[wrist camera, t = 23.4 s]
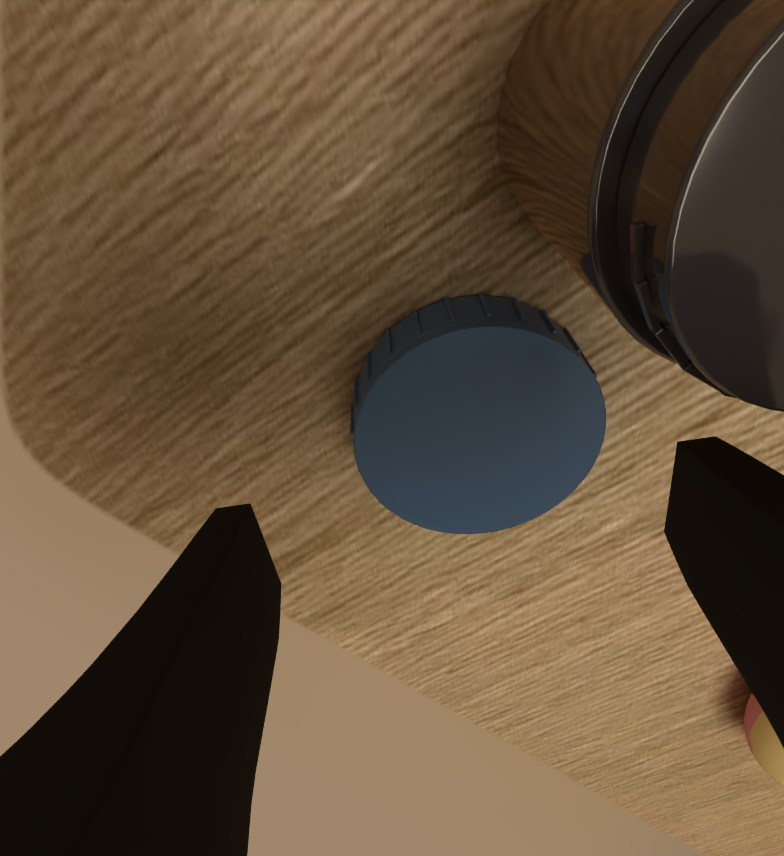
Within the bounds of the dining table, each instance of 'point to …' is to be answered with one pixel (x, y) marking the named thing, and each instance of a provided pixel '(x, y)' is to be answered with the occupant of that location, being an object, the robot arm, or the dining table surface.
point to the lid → (476, 415)
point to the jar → (662, 173)
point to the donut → (763, 740)
